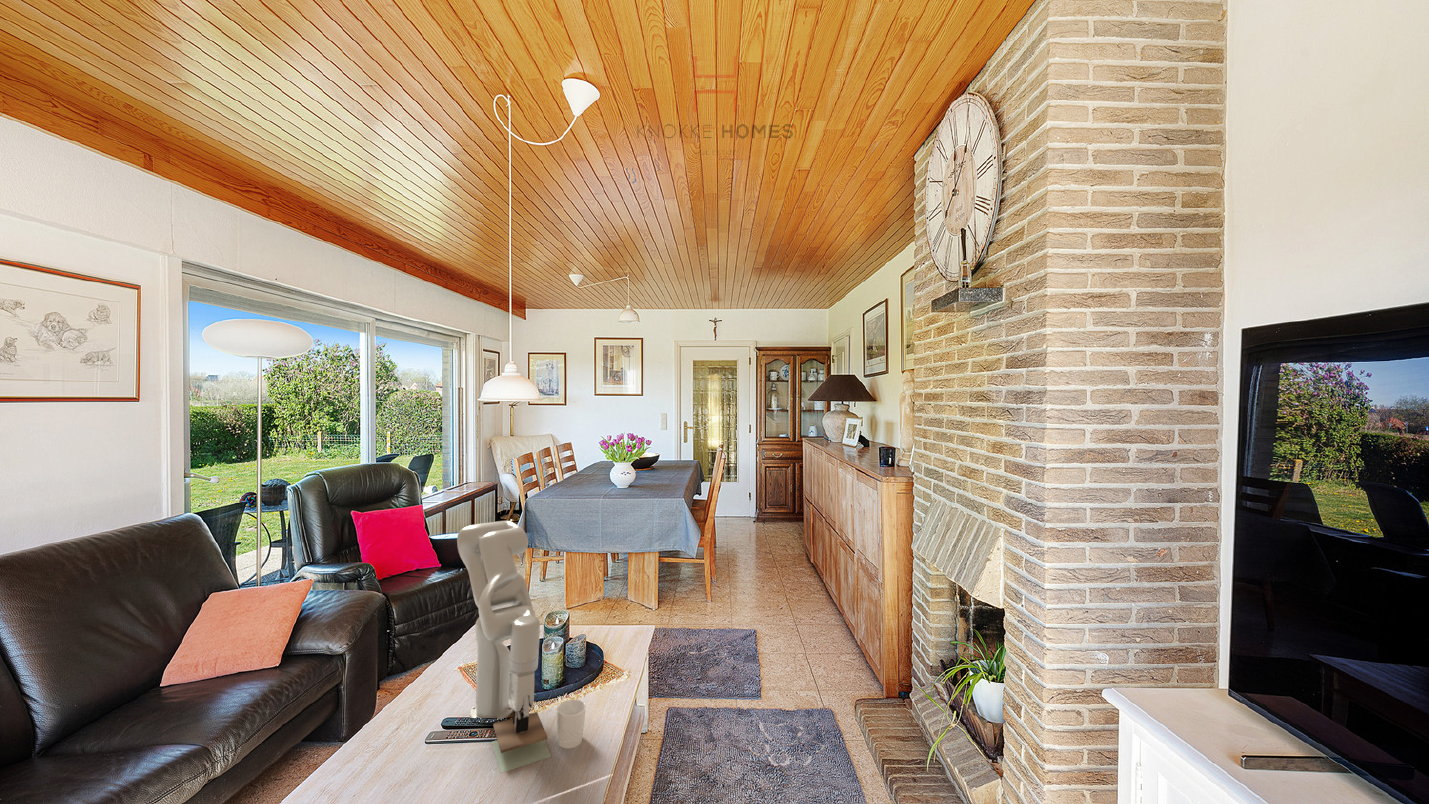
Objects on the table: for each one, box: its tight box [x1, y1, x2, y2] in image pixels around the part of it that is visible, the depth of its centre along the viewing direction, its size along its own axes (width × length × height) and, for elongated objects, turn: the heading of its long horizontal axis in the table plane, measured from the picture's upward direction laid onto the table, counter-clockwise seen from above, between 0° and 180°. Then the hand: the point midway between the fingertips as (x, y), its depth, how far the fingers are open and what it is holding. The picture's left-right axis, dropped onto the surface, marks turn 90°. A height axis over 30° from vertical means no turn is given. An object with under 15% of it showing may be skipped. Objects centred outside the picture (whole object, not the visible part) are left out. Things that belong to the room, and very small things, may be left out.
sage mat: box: [491, 739, 551, 774], centre depth 145 cm, size 14×13×1 cm
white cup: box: [556, 699, 587, 749], centre depth 149 cm, size 8×8×10 cm
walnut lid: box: [493, 710, 548, 753], centre depth 145 cm, size 12×12×6 cm
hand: (520, 726), depth 145 cm, fingers closed on walnut lid, 3 cm apart
